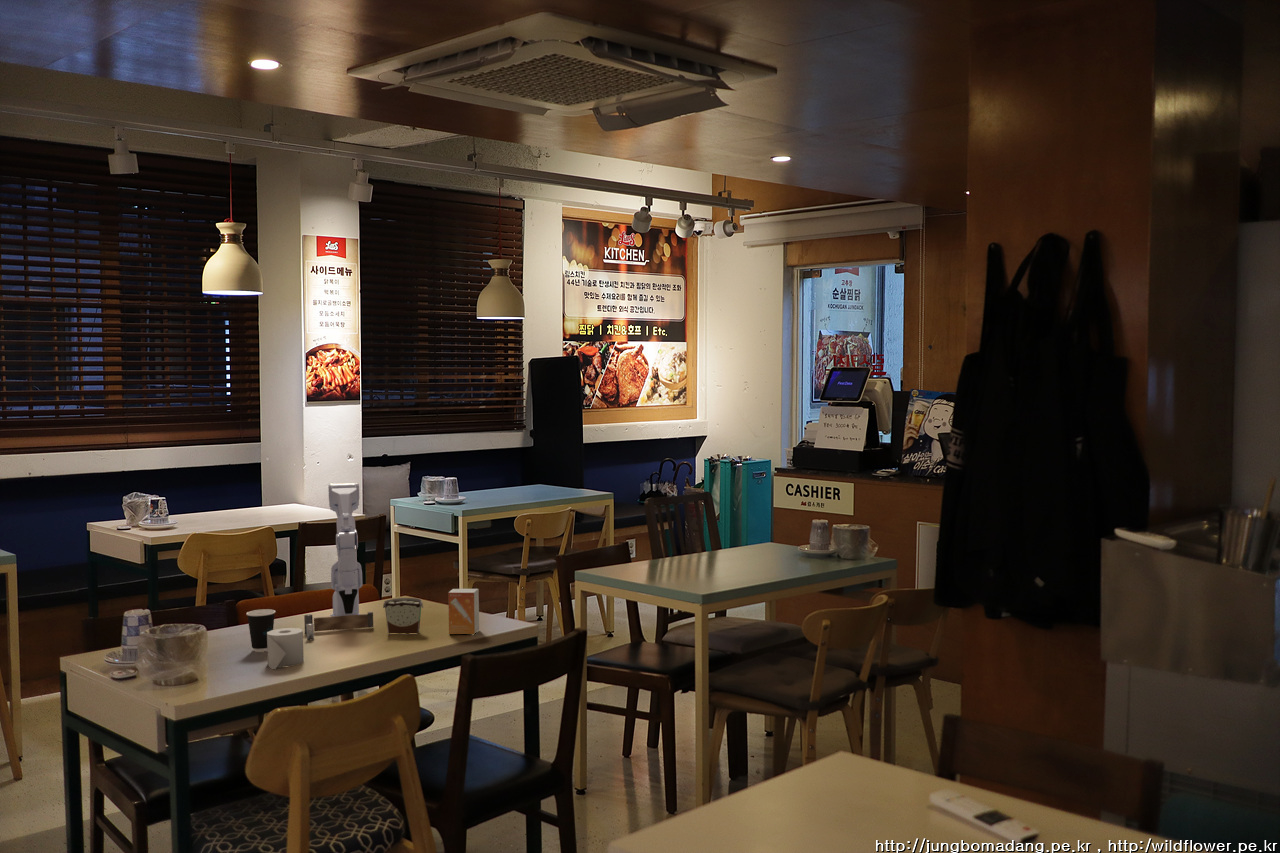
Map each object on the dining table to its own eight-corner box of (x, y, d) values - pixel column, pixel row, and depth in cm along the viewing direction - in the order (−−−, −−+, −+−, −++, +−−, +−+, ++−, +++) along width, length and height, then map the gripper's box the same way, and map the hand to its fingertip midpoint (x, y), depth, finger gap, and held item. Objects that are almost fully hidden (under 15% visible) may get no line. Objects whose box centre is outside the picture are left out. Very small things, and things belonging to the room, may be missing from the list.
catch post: (305, 639, 325) (305, 624, 325) (312, 638, 326) (312, 623, 326) (308, 640, 323) (307, 625, 323) (314, 639, 324) (314, 624, 324)
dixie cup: (250, 647, 315) (249, 609, 315) (278, 646, 317) (277, 608, 316) (245, 654, 307) (243, 615, 307) (274, 652, 309) (273, 614, 308)
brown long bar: (314, 631, 333) (313, 616, 332) (314, 630, 334) (313, 615, 334) (373, 627, 337) (373, 612, 337) (373, 626, 339) (372, 611, 339)
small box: (448, 635, 327) (447, 592, 326) (453, 630, 333) (452, 588, 332) (475, 635, 326) (474, 592, 326) (479, 630, 332) (478, 588, 332)
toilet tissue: (270, 672, 287) (270, 639, 287) (266, 661, 299) (265, 629, 299) (306, 668, 291) (305, 636, 290) (301, 657, 303) (300, 626, 303)
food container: (429, 629, 335) (428, 597, 335) (423, 634, 329) (422, 601, 328) (390, 629, 336) (389, 597, 336) (383, 634, 330) (382, 601, 330)
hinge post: (303, 632, 333) (303, 615, 333) (311, 631, 335) (310, 614, 334) (306, 634, 331) (305, 616, 331) (314, 633, 333) (313, 615, 333)
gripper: (334, 567, 346) (335, 609, 347) (334, 574, 332) (335, 618, 333) (357, 566, 348) (358, 608, 349) (358, 572, 334) (359, 616, 335)
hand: (348, 613), depth 341 cm, fingers closed
